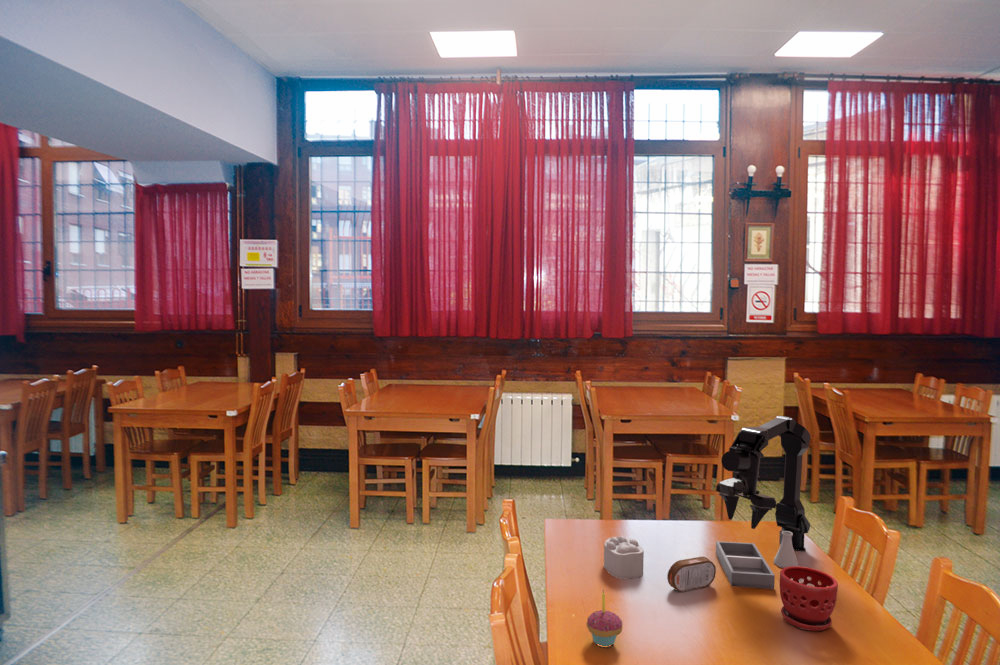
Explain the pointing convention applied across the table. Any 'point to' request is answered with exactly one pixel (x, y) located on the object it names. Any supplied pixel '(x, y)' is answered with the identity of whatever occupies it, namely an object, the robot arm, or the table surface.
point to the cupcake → (604, 625)
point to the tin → (691, 574)
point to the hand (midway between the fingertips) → (741, 523)
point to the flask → (786, 552)
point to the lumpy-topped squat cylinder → (623, 557)
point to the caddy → (744, 565)
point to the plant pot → (807, 597)
